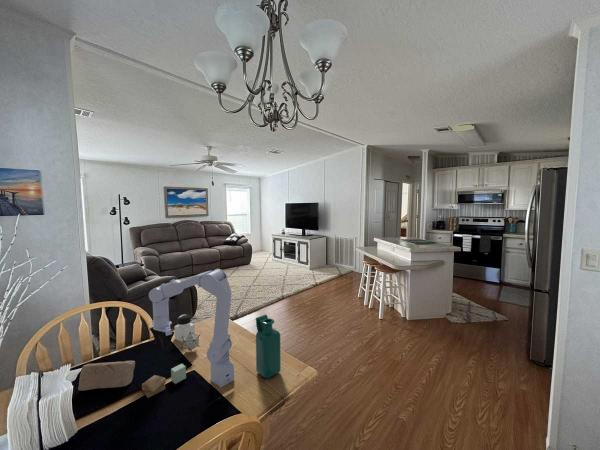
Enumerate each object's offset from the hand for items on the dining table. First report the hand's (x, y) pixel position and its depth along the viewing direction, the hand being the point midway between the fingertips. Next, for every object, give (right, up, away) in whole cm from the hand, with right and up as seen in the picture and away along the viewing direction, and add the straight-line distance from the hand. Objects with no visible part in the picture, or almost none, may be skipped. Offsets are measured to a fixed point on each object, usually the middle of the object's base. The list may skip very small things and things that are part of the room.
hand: (162, 346), depth 108 cm
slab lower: (+3, -12, -11) cm, 16 cm away
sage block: (+9, -11, -5) cm, 15 cm away
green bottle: (+44, -11, +1) cm, 45 cm away
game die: (+6, -10, +14) cm, 18 cm away
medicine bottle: (-2, -9, +27) cm, 28 cm away
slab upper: (+3, -10, -11) cm, 15 cm away
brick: (-16, -11, -9) cm, 22 cm away
